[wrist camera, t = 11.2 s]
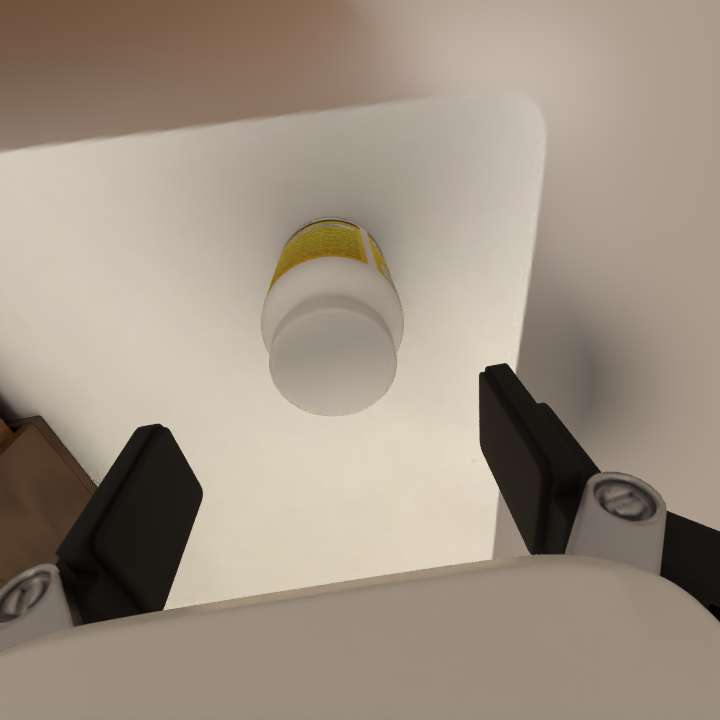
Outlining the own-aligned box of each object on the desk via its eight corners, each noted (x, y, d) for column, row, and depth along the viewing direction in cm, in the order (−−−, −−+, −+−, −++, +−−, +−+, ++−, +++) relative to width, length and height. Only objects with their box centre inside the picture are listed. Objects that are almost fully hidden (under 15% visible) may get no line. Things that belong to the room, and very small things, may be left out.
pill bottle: (262, 283, 24) (216, 390, 14) (314, 192, 21) (301, 249, 12) (347, 332, 26) (355, 453, 16) (404, 254, 23) (453, 345, 14)
